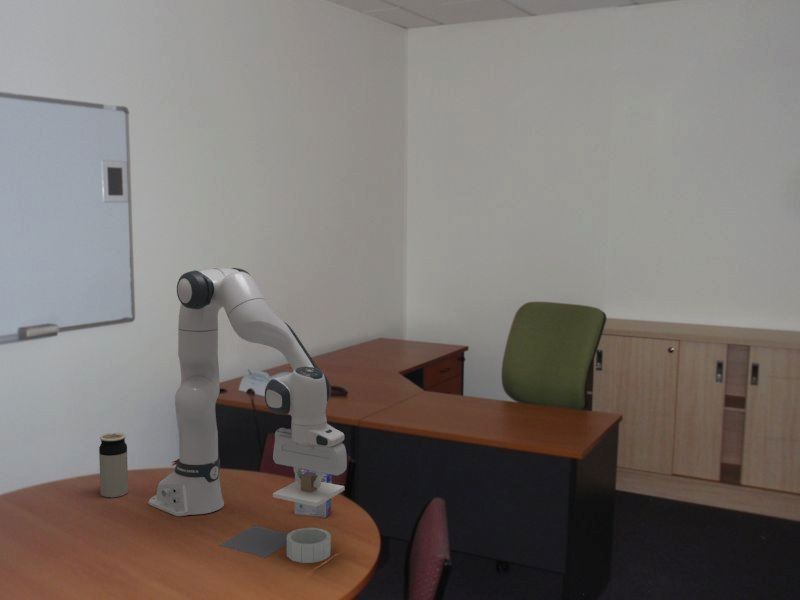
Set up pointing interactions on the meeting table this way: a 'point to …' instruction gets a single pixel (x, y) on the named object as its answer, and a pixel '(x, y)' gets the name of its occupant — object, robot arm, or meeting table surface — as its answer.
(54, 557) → the meeting table surface
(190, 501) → the robot arm
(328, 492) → the lid
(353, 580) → the meeting table surface
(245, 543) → the mat
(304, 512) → the ink cartridge box
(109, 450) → the travel mug
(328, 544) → the bowl
